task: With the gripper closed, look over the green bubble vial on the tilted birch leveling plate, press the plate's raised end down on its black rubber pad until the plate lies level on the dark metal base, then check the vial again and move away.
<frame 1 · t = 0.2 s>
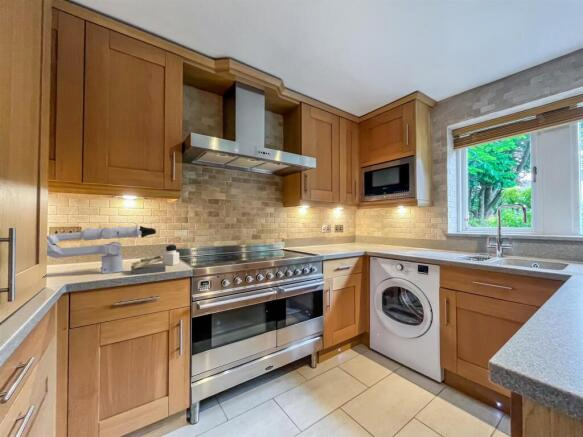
hand: (154, 231, 150), 21 cm above the table, tool horizontal, fingers open, 7 cm apart
instrument base: (148, 271, 140), on the table
medicine bottle: (171, 264, 160), on the table
leveling plate: (147, 260, 140), point 6 cm above the table, hinge at 12.0°
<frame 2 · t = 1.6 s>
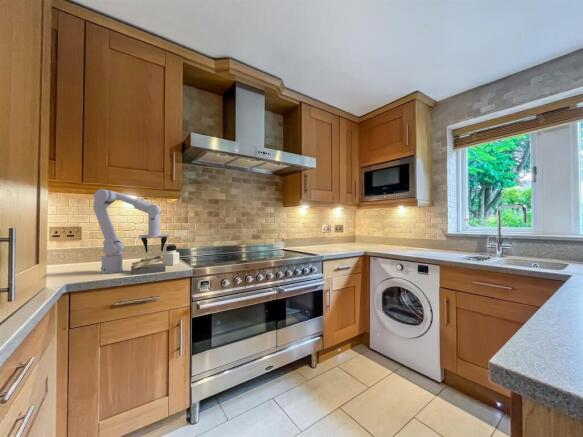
hand: (154, 251, 142), 10 cm above the table, tool pointing down, fingers open, 7 cm apart
nothing on the table moved.
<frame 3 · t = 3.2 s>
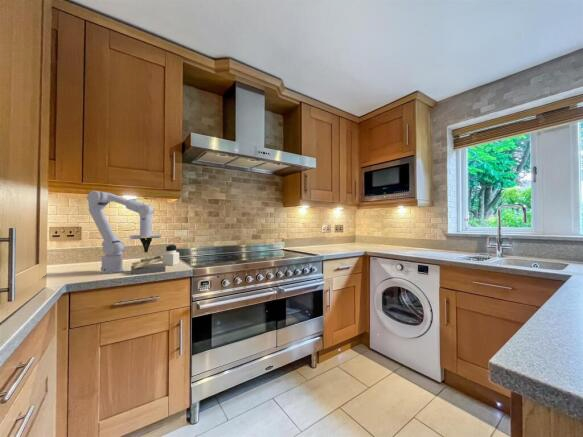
hand: (146, 252, 139), 10 cm above the table, tool pointing down, fingers closed
nothing on the table moved.
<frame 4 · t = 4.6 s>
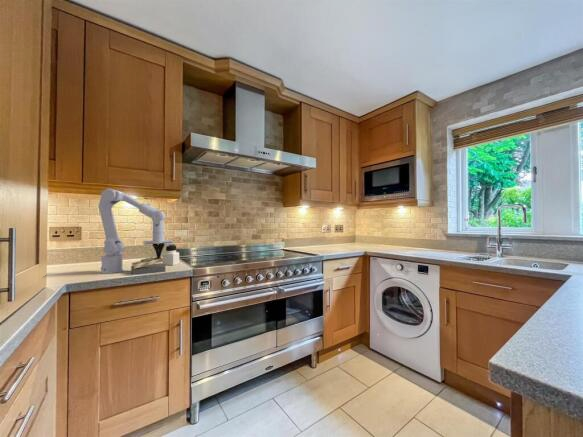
hand: (158, 257, 143), 7 cm above the table, tool pointing down, fingers closed
leveling plate: (147, 260, 140), point 6 cm above the table, hinge at 10.5°, touching gripper
everything else where it was.
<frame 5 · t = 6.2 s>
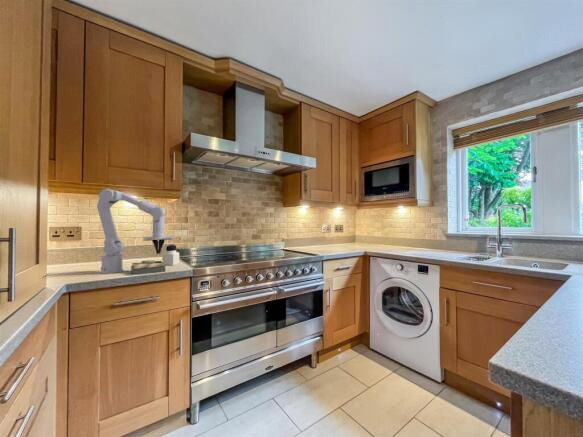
hand: (158, 253, 143), 9 cm above the table, tool pointing down, fingers closed
leveling plate: (148, 262, 140), point 4 cm above the table, hinge at -0.4°
everything else where it was.
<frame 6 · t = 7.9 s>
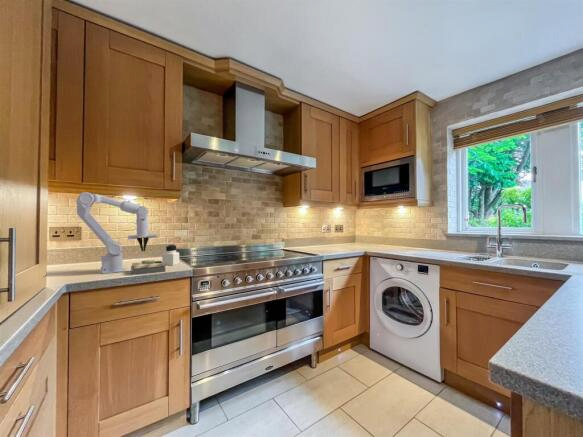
hand: (143, 251, 147), 10 cm above the table, tool pointing down, fingers closed
nothing on the table moved.
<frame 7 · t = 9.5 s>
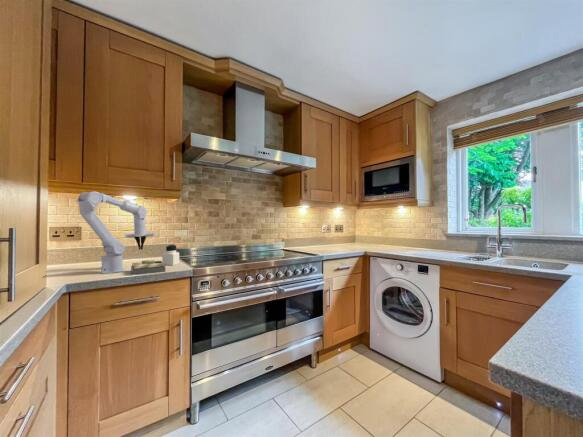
hand: (140, 249, 151), 10 cm above the table, tool pointing down, fingers closed
nothing on the table moved.
at the end: leveling plate at +0° (first picture: +12°); medicine bottle moved 0.2 cm from its start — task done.
